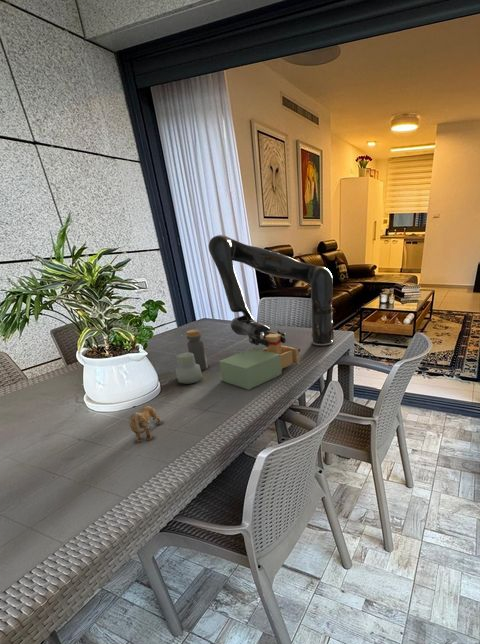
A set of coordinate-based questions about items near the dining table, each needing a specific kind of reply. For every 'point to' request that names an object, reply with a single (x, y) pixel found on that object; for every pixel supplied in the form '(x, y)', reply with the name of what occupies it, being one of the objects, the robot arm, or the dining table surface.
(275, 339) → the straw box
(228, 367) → the cabinet
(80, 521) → the dining table surface
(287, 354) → the drawer
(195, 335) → the bottle
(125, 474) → the dining table surface
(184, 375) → the air freshener
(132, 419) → the lion figurine
